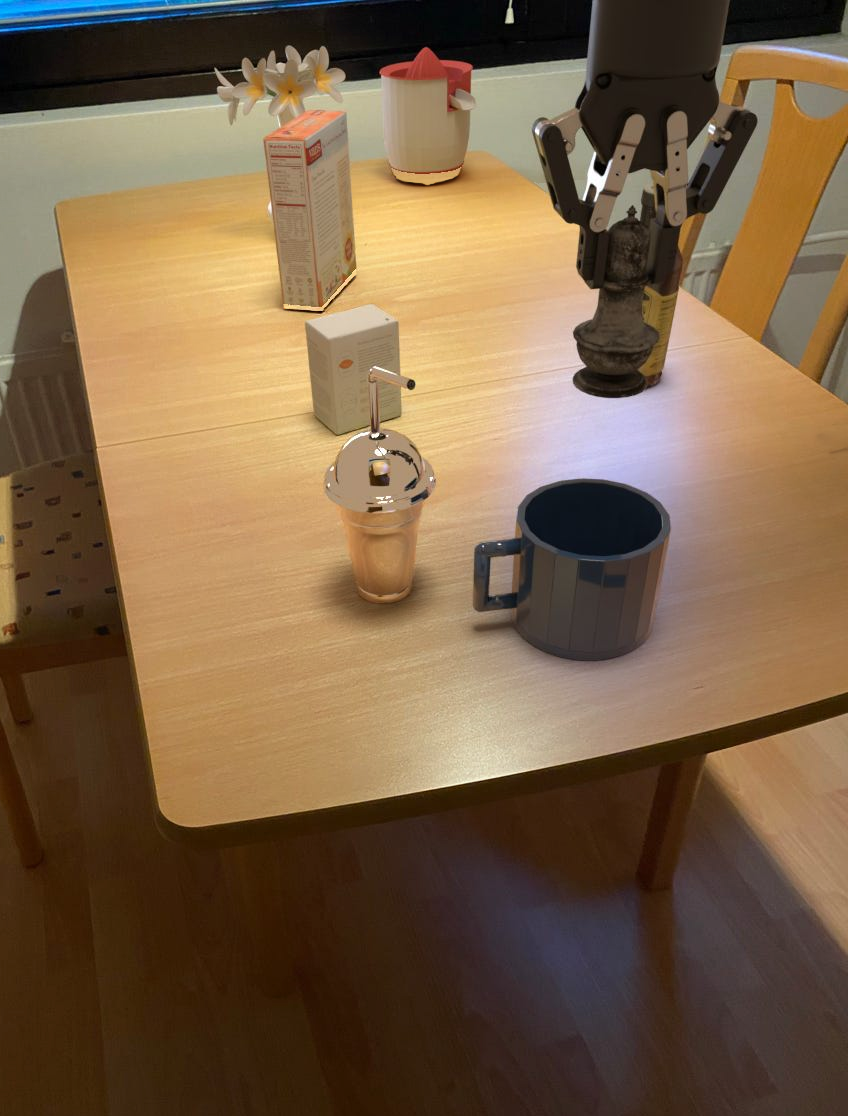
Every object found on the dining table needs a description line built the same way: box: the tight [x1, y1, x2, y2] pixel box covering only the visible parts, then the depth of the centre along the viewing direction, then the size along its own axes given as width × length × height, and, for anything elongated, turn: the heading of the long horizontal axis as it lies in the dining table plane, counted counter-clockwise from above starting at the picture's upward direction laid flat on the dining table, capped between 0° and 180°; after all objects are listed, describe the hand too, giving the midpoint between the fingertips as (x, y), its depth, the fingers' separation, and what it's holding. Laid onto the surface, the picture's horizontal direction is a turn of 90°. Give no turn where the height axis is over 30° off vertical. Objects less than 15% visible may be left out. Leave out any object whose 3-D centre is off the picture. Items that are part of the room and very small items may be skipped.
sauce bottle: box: [637, 182, 684, 387], centre depth 99 cm, size 7×6×20 cm
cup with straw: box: [322, 366, 437, 604], centre depth 72 cm, size 8×9×20 cm
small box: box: [304, 303, 403, 436], centre depth 99 cm, size 8×6×10 cm
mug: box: [472, 477, 672, 661], centre depth 72 cm, size 14×11×9 cm
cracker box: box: [262, 109, 357, 307], centre depth 124 cm, size 14×6×21 cm, turn 161°
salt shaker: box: [572, 204, 660, 399], centre depth 65 cm, size 6×6×12 cm
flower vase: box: [214, 45, 346, 227], centre depth 142 cm, size 13×18×25 cm
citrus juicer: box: [379, 46, 477, 174], centre depth 165 cm, size 16×17×20 cm
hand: (623, 281), depth 64 cm, fingers closed on salt shaker, 3 cm apart
